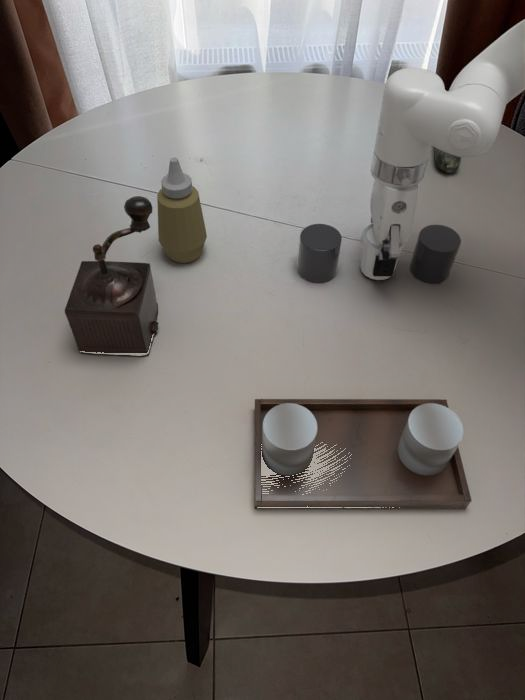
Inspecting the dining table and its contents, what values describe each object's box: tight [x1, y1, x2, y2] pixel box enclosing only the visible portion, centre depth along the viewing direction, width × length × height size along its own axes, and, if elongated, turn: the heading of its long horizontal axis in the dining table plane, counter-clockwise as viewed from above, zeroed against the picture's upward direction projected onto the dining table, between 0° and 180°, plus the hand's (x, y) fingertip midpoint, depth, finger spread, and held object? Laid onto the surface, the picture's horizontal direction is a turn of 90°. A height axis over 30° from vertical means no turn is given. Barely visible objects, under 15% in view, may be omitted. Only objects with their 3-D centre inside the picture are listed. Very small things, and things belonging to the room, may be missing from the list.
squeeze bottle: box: [156, 156, 208, 264], centre depth 92 cm, size 8×8×18 cm
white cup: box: [360, 223, 405, 281], centre depth 94 cm, size 7×7×7 cm
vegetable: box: [434, 147, 462, 174], centre depth 117 cm, size 14×5×5 cm, turn 170°
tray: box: [254, 398, 472, 509], centre depth 73 cm, size 26×15×7 cm, turn 91°
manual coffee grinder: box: [64, 195, 159, 353], centre depth 83 cm, size 16×11×18 cm
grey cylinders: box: [296, 223, 462, 285], centre depth 95 cm, size 26×7×7 cm, turn 91°
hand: (379, 258), depth 95 cm, fingers closed on white cup, 6 cm apart
